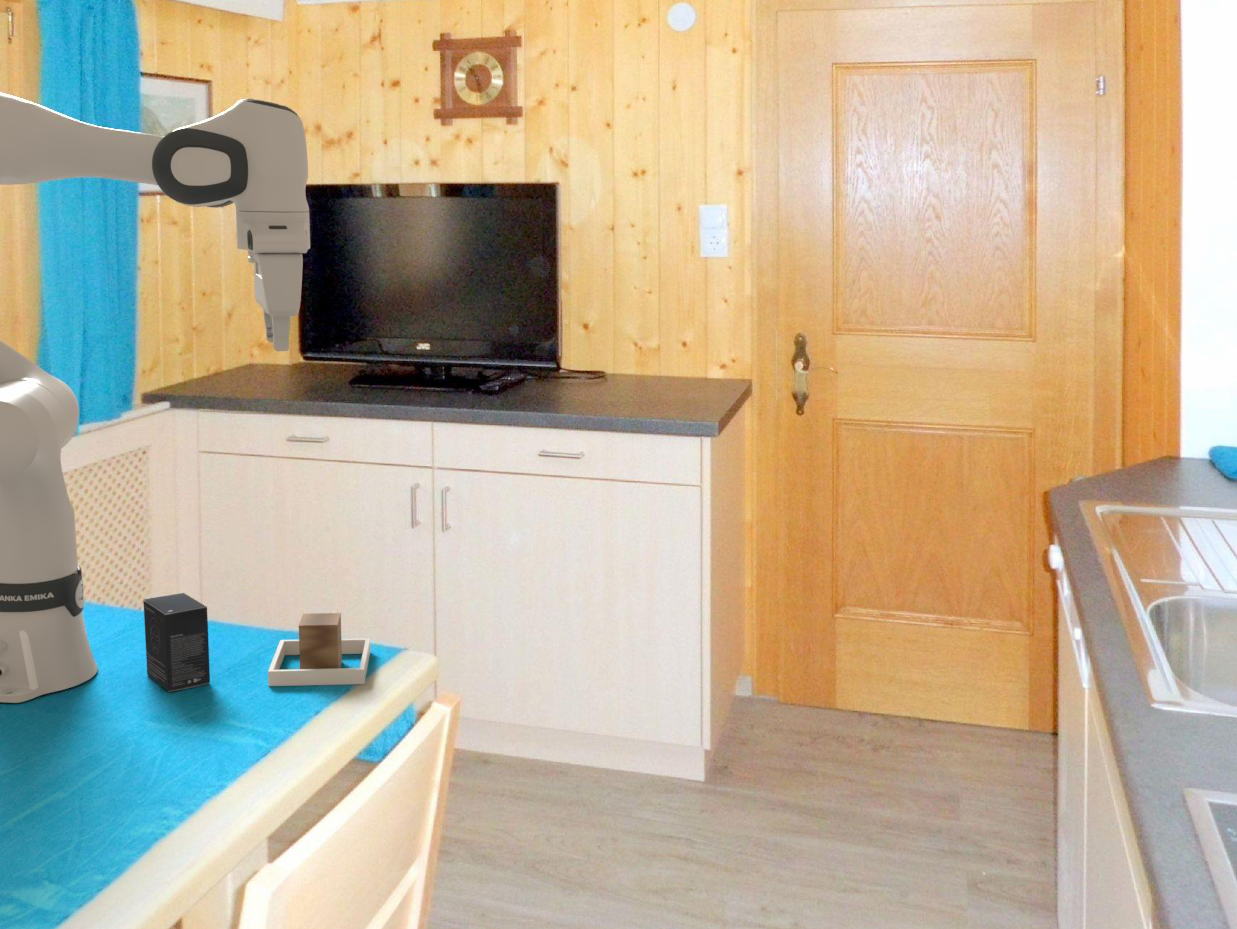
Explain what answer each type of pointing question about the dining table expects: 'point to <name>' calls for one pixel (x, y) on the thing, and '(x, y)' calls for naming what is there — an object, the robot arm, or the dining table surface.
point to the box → (176, 641)
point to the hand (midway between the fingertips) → (277, 346)
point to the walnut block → (320, 641)
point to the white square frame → (319, 675)
